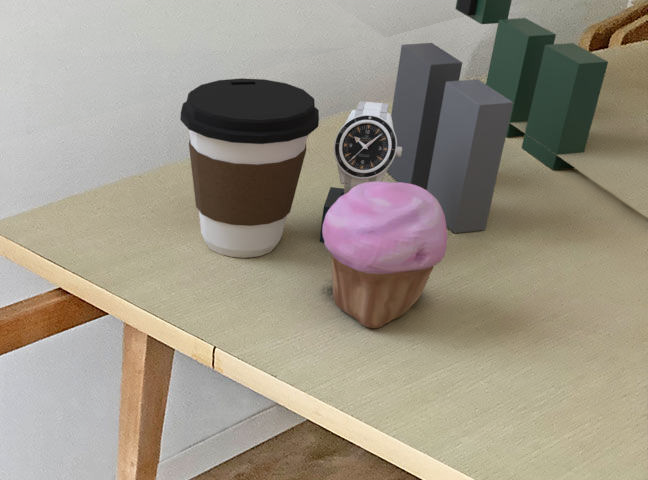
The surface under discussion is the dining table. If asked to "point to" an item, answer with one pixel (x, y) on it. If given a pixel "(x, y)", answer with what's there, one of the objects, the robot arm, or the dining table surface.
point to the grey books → (448, 134)
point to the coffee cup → (246, 159)
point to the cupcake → (383, 248)
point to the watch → (363, 150)
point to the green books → (546, 89)
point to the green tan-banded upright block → (490, 11)
